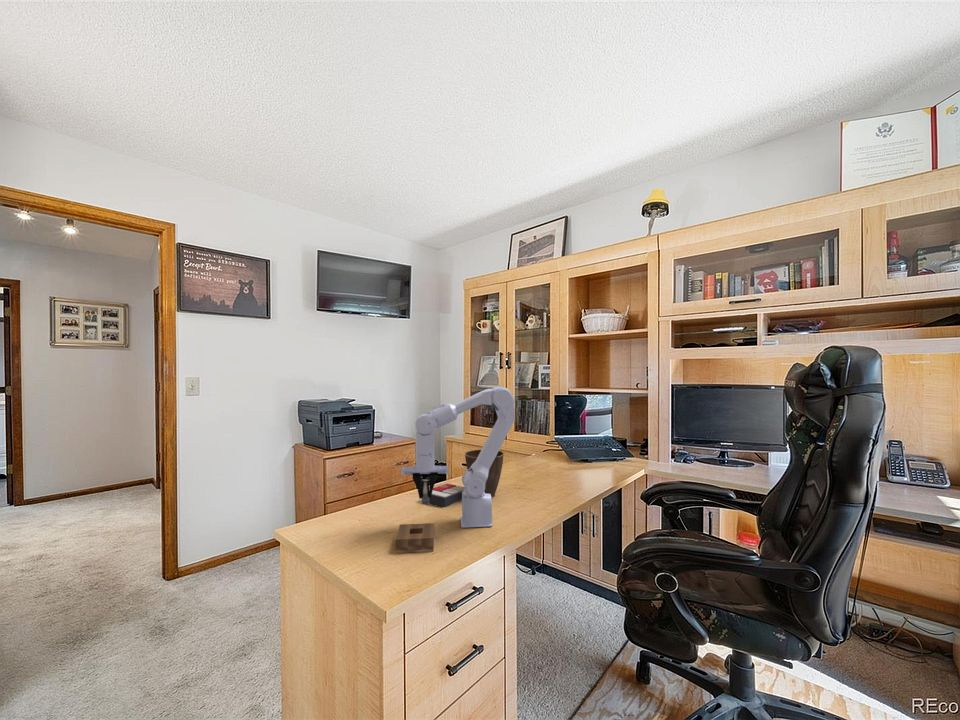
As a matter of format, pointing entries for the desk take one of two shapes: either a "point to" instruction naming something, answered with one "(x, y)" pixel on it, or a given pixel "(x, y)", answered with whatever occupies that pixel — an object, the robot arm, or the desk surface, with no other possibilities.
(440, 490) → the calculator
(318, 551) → the desk surface
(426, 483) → the pin
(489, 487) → the plant pot
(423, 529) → the bore block
